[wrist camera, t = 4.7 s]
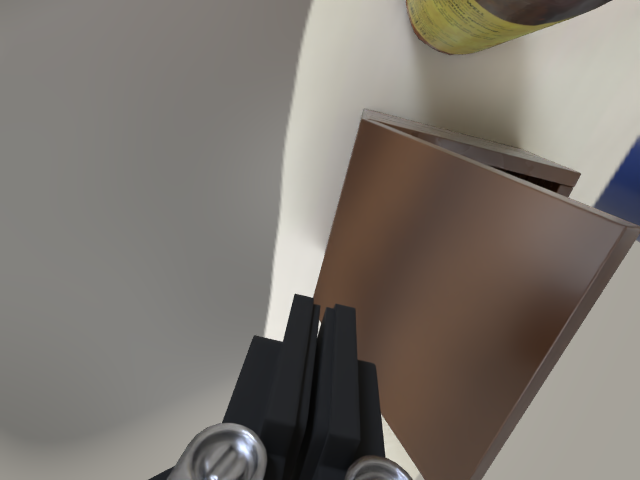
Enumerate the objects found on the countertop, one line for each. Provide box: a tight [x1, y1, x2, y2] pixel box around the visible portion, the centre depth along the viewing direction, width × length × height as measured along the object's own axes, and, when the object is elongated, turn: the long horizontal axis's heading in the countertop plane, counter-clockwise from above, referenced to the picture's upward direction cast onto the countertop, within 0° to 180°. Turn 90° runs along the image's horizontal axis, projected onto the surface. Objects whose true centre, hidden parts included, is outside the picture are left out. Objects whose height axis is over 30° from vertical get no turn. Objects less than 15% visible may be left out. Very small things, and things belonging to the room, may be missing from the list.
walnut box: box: [324, 109, 581, 256], centre depth 23 cm, size 10×10×7 cm
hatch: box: [313, 118, 640, 480], centre depth 15 cm, size 11×10×1 cm
